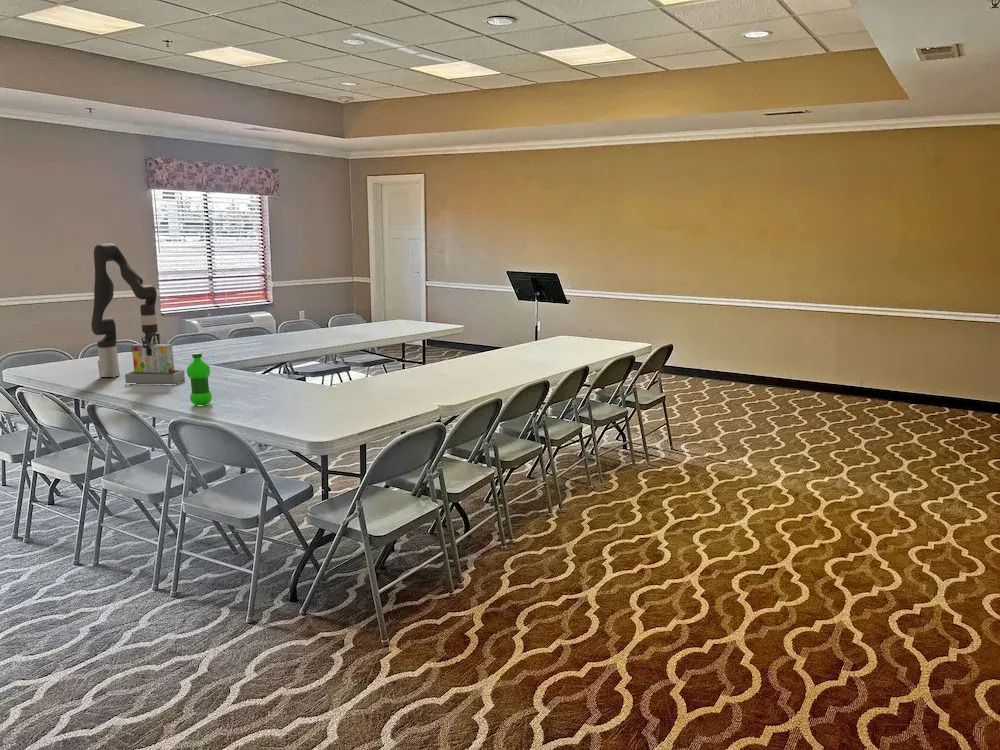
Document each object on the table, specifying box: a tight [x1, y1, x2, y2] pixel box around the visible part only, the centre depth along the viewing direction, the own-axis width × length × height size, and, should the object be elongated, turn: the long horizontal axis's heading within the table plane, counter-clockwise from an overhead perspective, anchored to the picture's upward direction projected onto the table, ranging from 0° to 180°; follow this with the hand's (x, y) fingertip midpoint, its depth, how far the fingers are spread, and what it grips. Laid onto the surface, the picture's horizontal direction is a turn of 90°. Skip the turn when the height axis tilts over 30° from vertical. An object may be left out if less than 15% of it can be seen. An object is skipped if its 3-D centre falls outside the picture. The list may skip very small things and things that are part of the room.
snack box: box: [131, 343, 175, 373], centre depth 396 cm, size 21×6×15 cm, turn 79°
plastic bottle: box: [186, 352, 213, 406], centre depth 349 cm, size 10×10×25 cm
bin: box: [124, 369, 186, 385], centre depth 398 cm, size 27×12×6 cm, turn 86°
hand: (152, 354), depth 395 cm, fingers closed on snack box, 6 cm apart
